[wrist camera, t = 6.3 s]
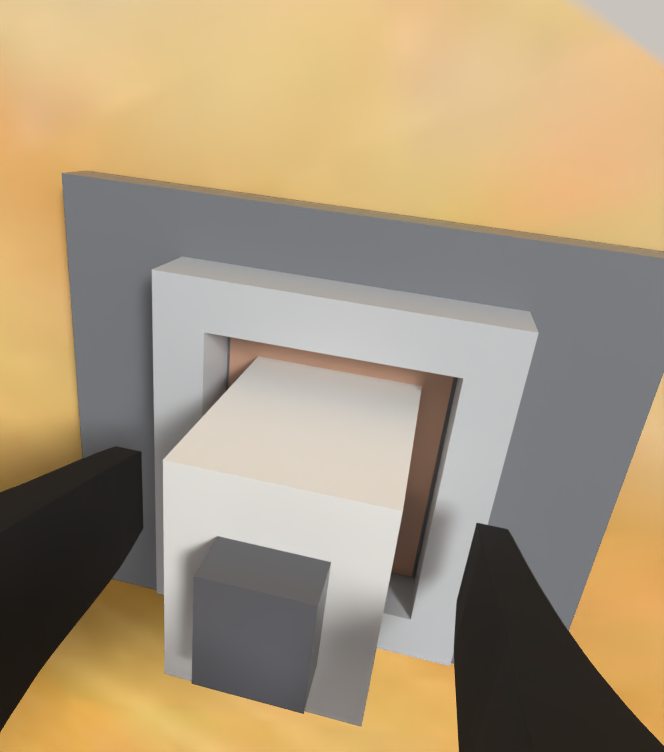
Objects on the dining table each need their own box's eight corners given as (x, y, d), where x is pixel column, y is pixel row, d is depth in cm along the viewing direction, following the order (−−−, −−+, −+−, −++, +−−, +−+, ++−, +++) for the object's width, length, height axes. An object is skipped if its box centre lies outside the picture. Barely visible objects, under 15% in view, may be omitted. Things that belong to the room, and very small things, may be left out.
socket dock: (543, 657, 17) (556, 736, 15) (108, 552, 19) (61, 608, 17) (685, 254, 12) (736, 280, 10) (86, 170, 14) (16, 177, 12)
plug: (390, 554, 16) (352, 779, 10) (247, 522, 16) (139, 719, 11) (421, 386, 14) (396, 552, 8) (258, 356, 14) (131, 493, 9)
